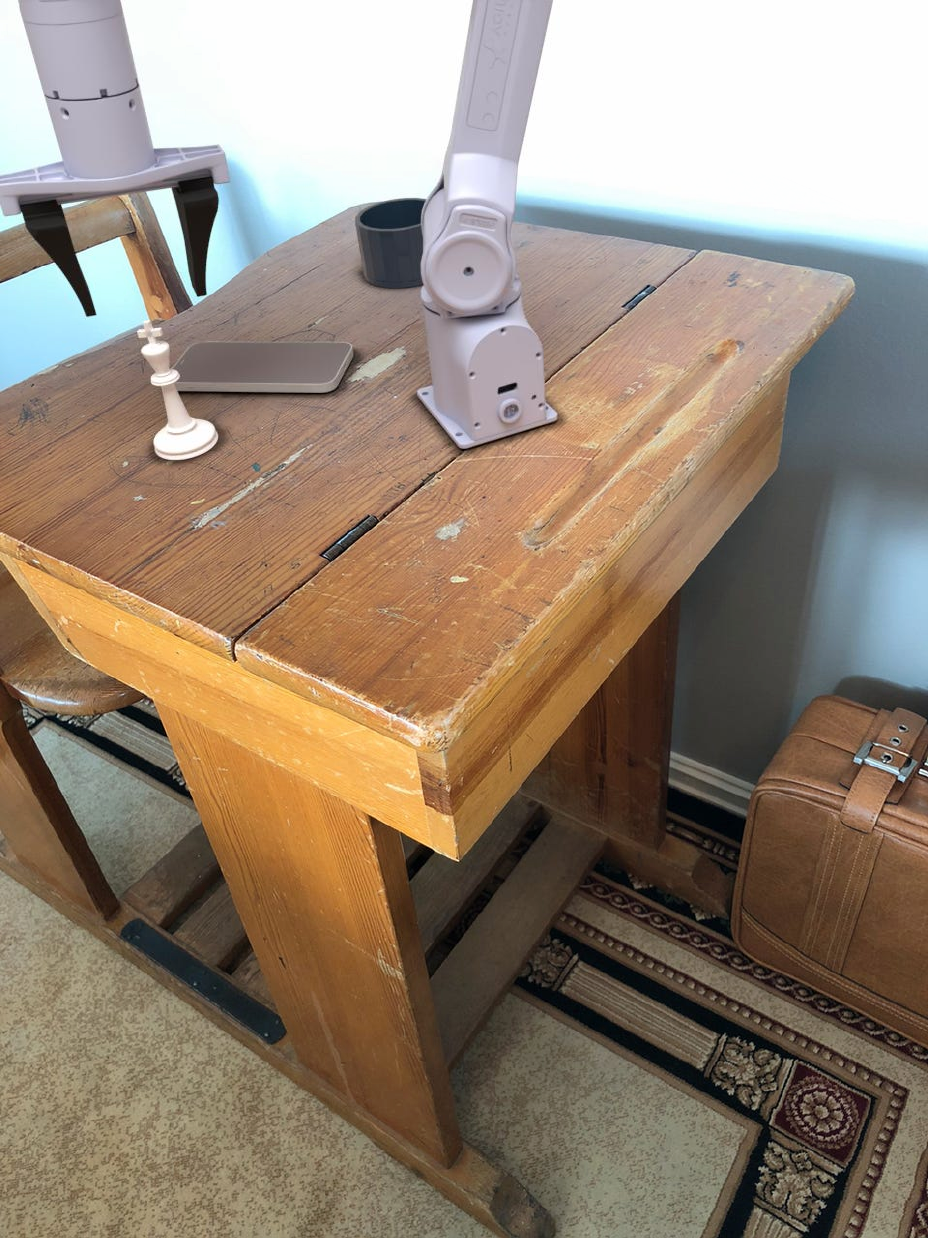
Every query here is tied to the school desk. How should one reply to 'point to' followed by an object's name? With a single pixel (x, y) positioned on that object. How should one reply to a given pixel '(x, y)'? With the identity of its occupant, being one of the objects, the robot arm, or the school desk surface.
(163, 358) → the chess piece
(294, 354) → the smartphone
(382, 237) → the pen holder
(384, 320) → the school desk surface
